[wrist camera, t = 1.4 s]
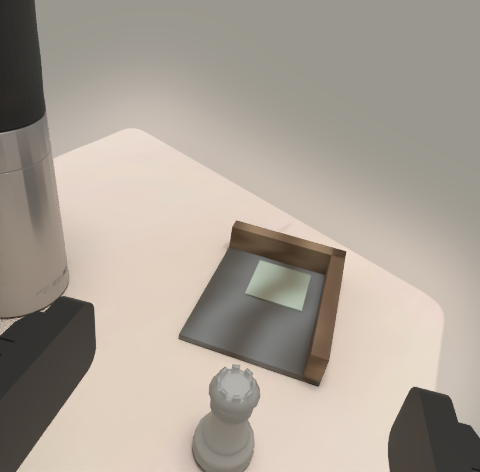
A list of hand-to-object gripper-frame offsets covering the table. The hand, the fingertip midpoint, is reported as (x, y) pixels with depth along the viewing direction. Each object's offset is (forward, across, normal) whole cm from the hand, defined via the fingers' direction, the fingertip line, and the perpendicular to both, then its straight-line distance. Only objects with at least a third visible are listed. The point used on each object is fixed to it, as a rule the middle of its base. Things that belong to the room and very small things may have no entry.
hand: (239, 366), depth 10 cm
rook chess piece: (+11, +1, +21) cm, 24 cm away
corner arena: (+27, 0, +19) cm, 33 cm away
